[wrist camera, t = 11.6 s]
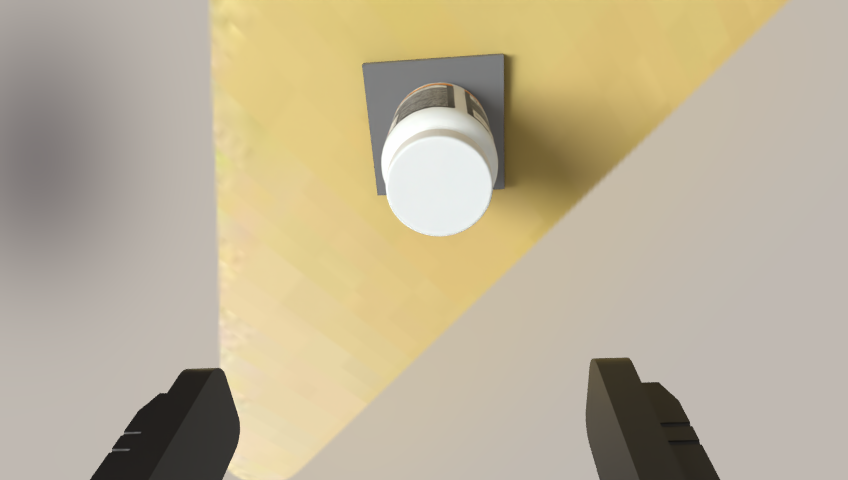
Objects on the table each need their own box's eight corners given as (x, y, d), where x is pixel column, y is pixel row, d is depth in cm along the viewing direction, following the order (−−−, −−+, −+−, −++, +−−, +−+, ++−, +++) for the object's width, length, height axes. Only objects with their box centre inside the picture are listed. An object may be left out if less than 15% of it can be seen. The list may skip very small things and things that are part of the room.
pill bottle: (385, 164, 33) (362, 234, 24) (403, 69, 30) (384, 110, 21) (475, 183, 33) (485, 259, 24) (500, 91, 31) (520, 140, 22)
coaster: (363, 63, 31) (362, 64, 30) (502, 53, 30) (503, 54, 30) (378, 191, 34) (377, 195, 34) (503, 185, 34) (504, 188, 33)
